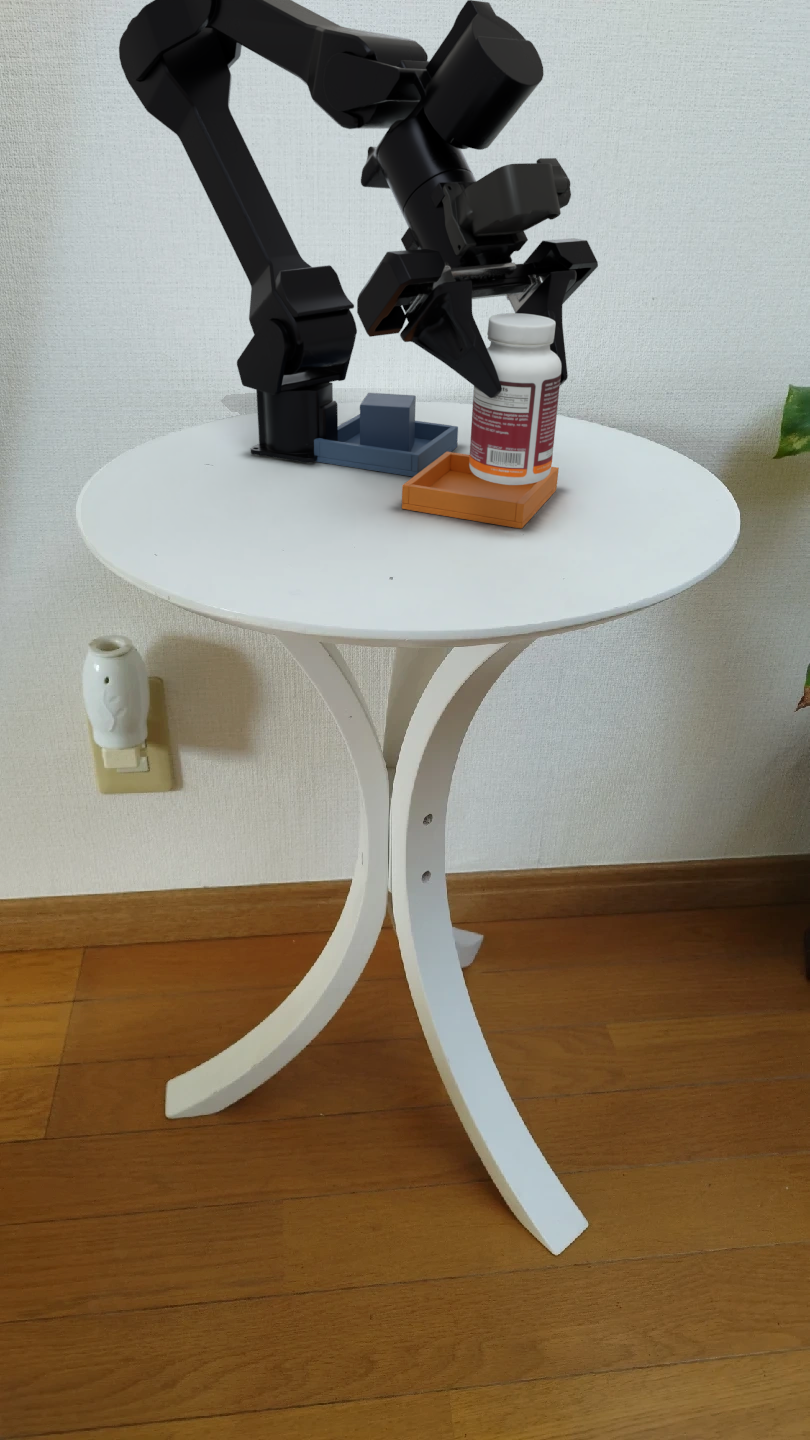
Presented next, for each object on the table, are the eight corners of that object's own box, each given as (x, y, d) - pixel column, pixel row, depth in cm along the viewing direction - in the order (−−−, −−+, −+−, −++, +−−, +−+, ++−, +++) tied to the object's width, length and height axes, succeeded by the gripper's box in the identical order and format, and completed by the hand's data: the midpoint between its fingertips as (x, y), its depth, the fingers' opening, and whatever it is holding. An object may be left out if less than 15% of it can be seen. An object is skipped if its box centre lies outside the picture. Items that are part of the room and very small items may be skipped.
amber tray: (401, 509, 82) (402, 484, 81) (445, 473, 91) (446, 451, 89) (521, 528, 79) (524, 504, 78) (556, 490, 87) (558, 467, 86)
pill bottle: (522, 457, 80) (537, 308, 74) (566, 481, 75) (585, 325, 69) (453, 465, 78) (462, 312, 72) (493, 491, 73) (507, 330, 67)
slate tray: (314, 461, 93) (313, 439, 92) (360, 433, 101) (360, 413, 100) (417, 477, 89) (418, 455, 88) (457, 447, 97) (458, 426, 96)
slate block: (359, 454, 93) (359, 404, 91) (367, 440, 97) (367, 392, 94) (408, 457, 93) (409, 407, 90) (414, 443, 96) (415, 395, 94)
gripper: (385, 107, 62) (493, 333, 60) (596, 112, 72) (692, 305, 70) (315, 234, 71) (406, 431, 70) (510, 222, 81) (593, 395, 80)
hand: (530, 388), depth 72 cm, fingers closed on pill bottle, 6 cm apart
